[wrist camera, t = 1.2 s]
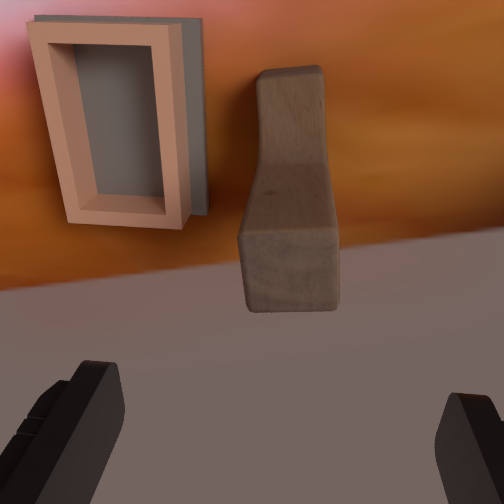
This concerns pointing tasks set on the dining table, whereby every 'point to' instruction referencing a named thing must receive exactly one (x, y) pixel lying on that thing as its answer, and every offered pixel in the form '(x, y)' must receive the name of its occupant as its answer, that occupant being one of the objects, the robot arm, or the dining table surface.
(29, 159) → the dining table surface
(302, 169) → the wooden block
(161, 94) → the block holder
